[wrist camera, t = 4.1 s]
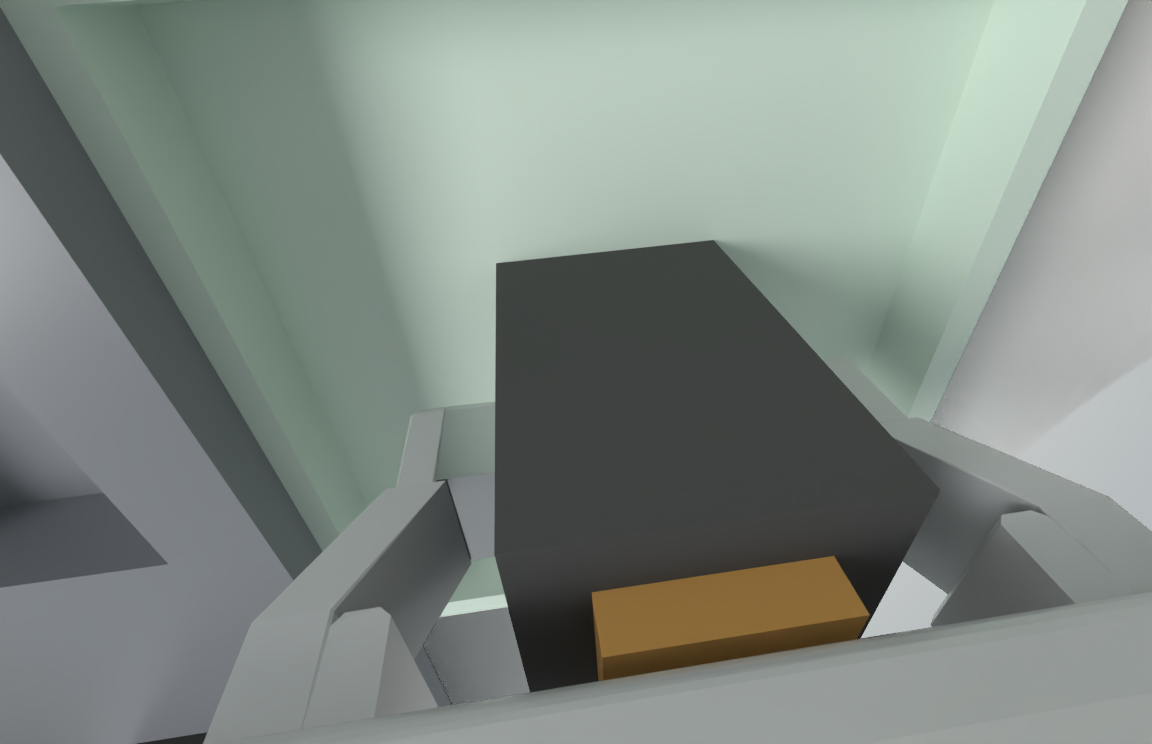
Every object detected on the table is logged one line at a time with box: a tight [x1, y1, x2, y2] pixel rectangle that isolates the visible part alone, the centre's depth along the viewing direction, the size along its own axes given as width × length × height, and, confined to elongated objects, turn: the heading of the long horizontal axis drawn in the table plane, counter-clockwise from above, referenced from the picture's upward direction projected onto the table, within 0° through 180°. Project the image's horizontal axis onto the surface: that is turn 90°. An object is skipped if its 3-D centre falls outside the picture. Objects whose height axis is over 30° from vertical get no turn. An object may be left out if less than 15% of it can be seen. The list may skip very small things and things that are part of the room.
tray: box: [0, 0, 1128, 617], centre depth 10 cm, size 13×13×2 cm
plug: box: [494, 240, 941, 692], centre depth 8 cm, size 4×4×7 cm
